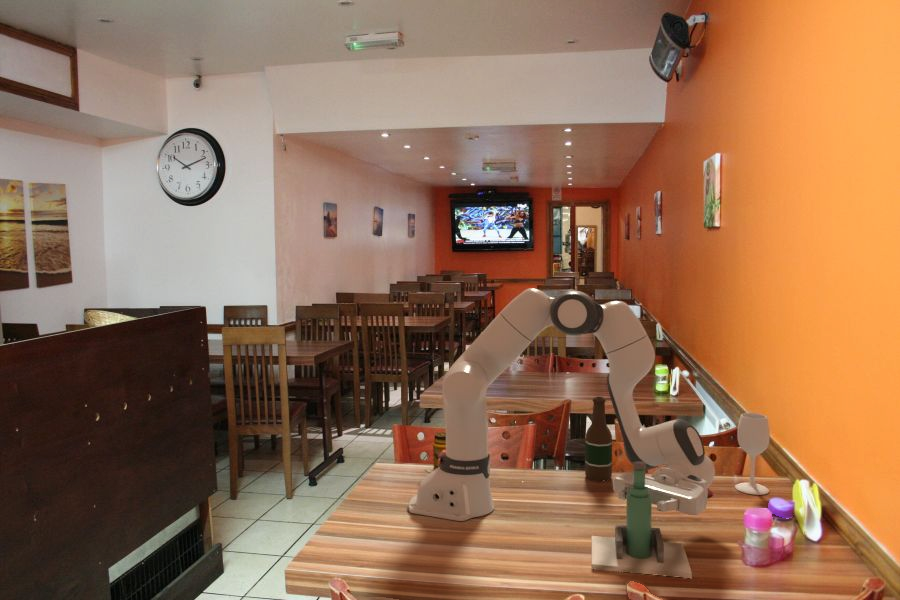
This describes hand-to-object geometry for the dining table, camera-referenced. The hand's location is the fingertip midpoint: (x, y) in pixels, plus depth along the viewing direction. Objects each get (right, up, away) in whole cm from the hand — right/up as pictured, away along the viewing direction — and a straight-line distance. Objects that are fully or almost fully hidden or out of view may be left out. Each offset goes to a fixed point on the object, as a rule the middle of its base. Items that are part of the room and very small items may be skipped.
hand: (639, 501), depth 141 cm
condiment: (-43, -9, +58) cm, 73 cm away
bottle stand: (0, -13, +1) cm, 13 cm away
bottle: (0, -12, +1) cm, 12 cm away
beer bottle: (+3, -9, +52) cm, 53 cm away
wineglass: (+44, -10, +42) cm, 61 cm away
